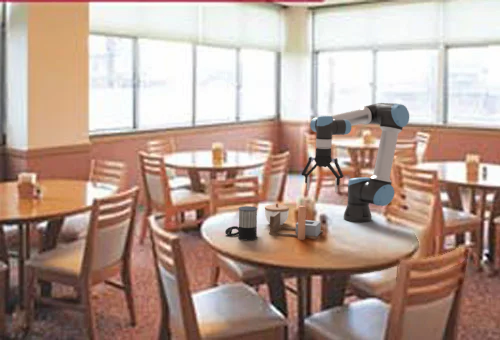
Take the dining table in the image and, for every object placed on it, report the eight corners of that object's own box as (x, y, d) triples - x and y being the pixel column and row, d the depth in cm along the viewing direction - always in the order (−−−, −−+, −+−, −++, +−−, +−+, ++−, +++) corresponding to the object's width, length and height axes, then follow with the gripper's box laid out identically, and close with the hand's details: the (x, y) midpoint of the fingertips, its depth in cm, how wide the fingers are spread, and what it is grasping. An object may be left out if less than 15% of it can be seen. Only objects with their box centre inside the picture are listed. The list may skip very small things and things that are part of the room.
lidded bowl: (291, 222, 325) (291, 202, 323) (284, 227, 313) (285, 206, 312) (268, 220, 329) (269, 200, 327) (261, 225, 317) (261, 204, 316)
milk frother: (256, 241, 287) (257, 210, 285) (223, 240, 287) (223, 209, 285) (257, 233, 301) (258, 204, 299) (225, 232, 301) (226, 203, 299)
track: (322, 233, 304) (323, 215, 302) (316, 239, 291) (317, 221, 290) (276, 228, 312) (277, 211, 310) (269, 234, 299) (269, 216, 298)
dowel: (305, 238, 293) (306, 206, 290) (303, 240, 289) (305, 207, 287) (298, 237, 294) (299, 205, 291) (296, 239, 290) (297, 206, 288)
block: (320, 233, 303) (320, 221, 302) (315, 238, 293) (315, 225, 292) (300, 231, 306) (301, 219, 305) (295, 235, 296) (295, 223, 296)
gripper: (350, 148, 295) (348, 191, 298) (299, 145, 301) (298, 187, 305) (348, 149, 288) (346, 194, 291) (296, 147, 294) (295, 190, 297)
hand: (321, 191), depth 298 cm, fingers open, 13 cm apart
